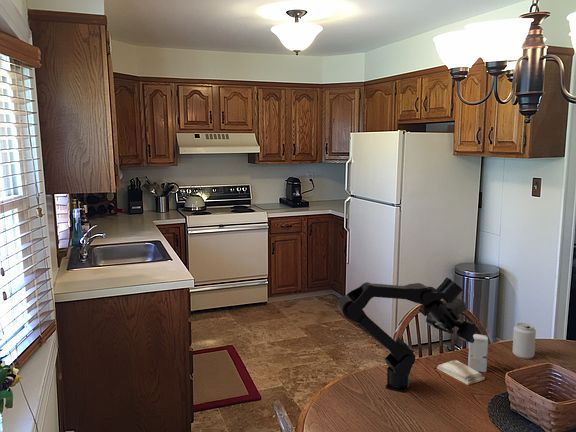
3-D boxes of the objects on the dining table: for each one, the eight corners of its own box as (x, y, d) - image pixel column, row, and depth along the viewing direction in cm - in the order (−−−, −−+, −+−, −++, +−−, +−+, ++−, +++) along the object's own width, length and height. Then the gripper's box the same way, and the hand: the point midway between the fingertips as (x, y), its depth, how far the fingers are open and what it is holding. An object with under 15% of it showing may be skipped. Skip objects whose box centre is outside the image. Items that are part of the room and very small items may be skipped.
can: (532, 361, 177) (533, 330, 176) (510, 356, 182) (511, 326, 180) (536, 354, 183) (537, 324, 182) (514, 349, 188) (516, 320, 186)
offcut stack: (467, 385, 161) (467, 378, 160) (436, 368, 173) (436, 362, 173) (484, 379, 164) (485, 372, 164) (453, 363, 177) (453, 357, 176)
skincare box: (468, 370, 171) (469, 337, 170) (467, 365, 175) (468, 333, 174) (487, 372, 169) (488, 339, 168) (486, 367, 174) (487, 334, 172)
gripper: (474, 300, 154) (497, 327, 161) (432, 286, 171) (454, 310, 177) (455, 328, 152) (479, 354, 158) (415, 311, 168) (438, 335, 175)
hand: (462, 337), depth 167 cm, fingers open, 9 cm apart
